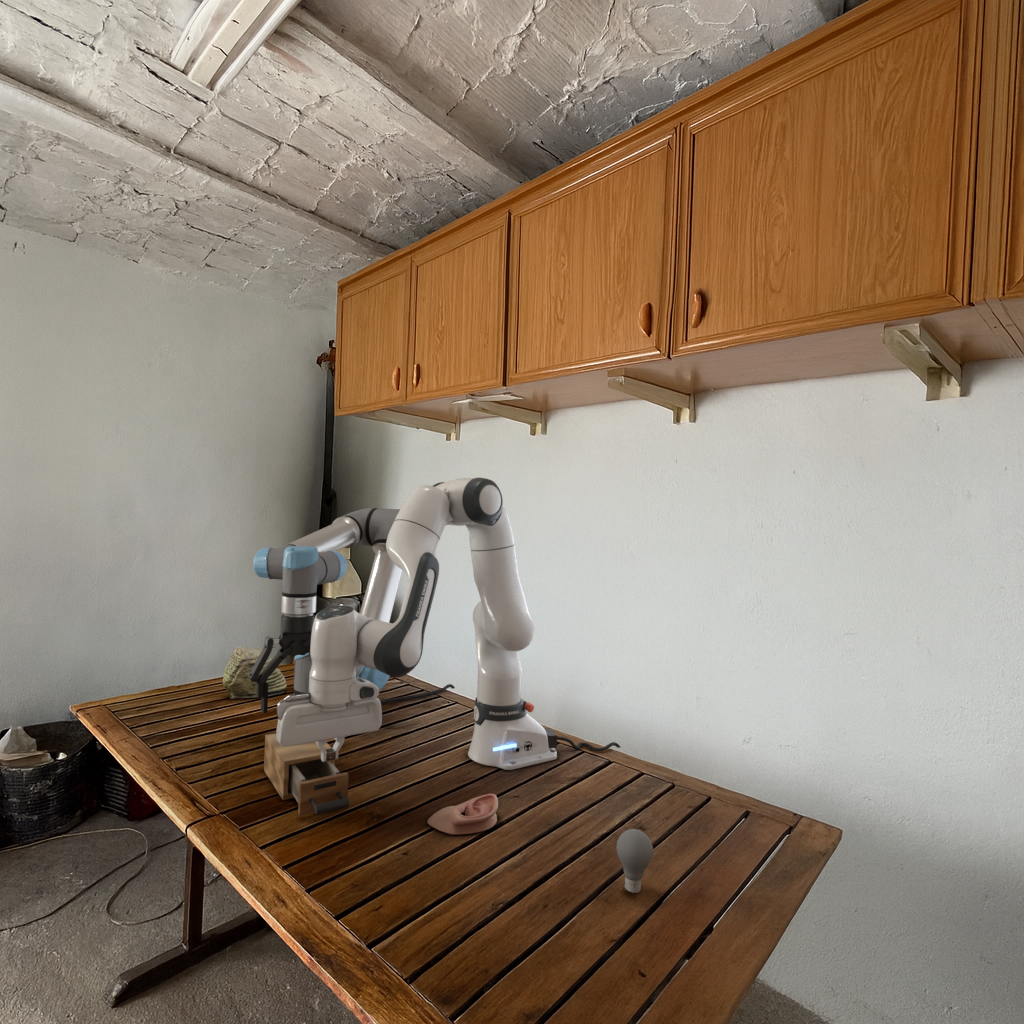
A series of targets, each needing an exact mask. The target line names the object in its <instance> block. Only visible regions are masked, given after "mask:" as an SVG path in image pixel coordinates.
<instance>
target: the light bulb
mask: <svg viewBox="0 0 1024 1024" xmlns="http://www.w3.org/2000/svg"><path fill="white" fill-rule="evenodd" d="M615 849H616V854H617V857H618V859H619V861H620V863H621V865H622V867H623V873H624V874H623V875H624V876H625V878H624V888H625V890H627V891H628V892H630V893H634V894H635V893H639V892H640V891H641V889H642V887H641V886H642V879H643V877H644V875H645V871H646V868H647V867H648V866H649V864H650V863H651V861H652V859H653V855H654V847H653V843H652V841H651V838H649V836H648V835H647V834H646V833H645V832H643V831H642V830H641V829H636V828H629V829H627V830H625V831H623V832H622V833H621V834H620V835H619V837H618V839H617V841H616V847H615Z"/></svg>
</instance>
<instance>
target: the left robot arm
mask: <svg viewBox="0 0 1024 1024" xmlns="http://www.w3.org/2000/svg"><path fill="white" fill-rule="evenodd" d="M400 509H401V508H399V509H398V508H382V507H381V508H380V507H379V508H378V507H366V508H362V509H358V510H355V511H352V512H349V513H346V514H344V515H341V516H339V517H337V518H335V519H334V520H333V521H332V523H331V524H329V525H327V526H325V527H322V528H321V529H317V530H316V531H314V532H311V533H309V534H307V535H305V536H303V537H301V538H298V539H295V540H294V541H292V542H289V543H287V544H284V545H282V546H279V547H276V548H275V547H263V548H260V549H259V550H258V551H256V553H255V555H254V557H253V560H252V561H253V562H252V564H253V571H254V573H255V575H256V576H258V577H259V578H262V579H263V578H264V579H269V580H280V581H282V591H281V606H280V607H281V608H280V610H281V611H280V612H281V614H282V615H281V616H280V632H279V633H280V634H279V637H270V636H266V637H265V639H264V644H263V648H262V649H263V650H262V652H261V653H260V655H259V657H258V659H257V661H256V663H255V665H254V666H253V668H252V670H251V672H250V674H249V676H248V678H249V679H250V680H251V681H252V682H257V696H258V697H257V698H259V699H260V711H261V712H262V713H263V714H268V707H269V706H268V703H269V696H268V683H267V682H266V680H267V679H268V678H269V676H270V675H271V674H272V673H273V672H274V670H275V669H276V668H278V667H279V666H280V665H281V664H282V662H283V661H284V660H285V659H287V657H289V656H290V657H293V658H294V659H293V660H294V672H293V695H299V694H304V693H309V674H310V670H311V667H312V659H311V655H310V645H311V634H312V627H313V623H314V619H315V617H316V615H315V613H316V612H317V592H318V591H317V590H318V586H319V585H323V584H329V583H330V584H332V583H335V582H338V581H340V580H342V579H343V578H344V577H345V576H346V574H347V572H348V561H347V559H346V557H345V556H344V555H343V554H342V553H341V552H339V551H340V550H342V549H351V548H354V547H357V546H367V547H369V546H370V547H372V548H371V549H372V550H373V552H374V553H375V555H374V560H373V563H372V567H371V570H370V573H369V578H368V582H367V585H366V589H365V593H364V597H363V600H362V603H361V607H360V611H359V614H361V615H364V616H366V617H369V618H372V619H376V620H380V621H383V622H388V623H390V621H391V616H392V613H393V610H394V605H395V601H396V597H397V593H398V588H399V586H400V582H401V581H400V580H401V576H402V573H403V570H401V569H400V568H399V567H398V566H396V565H395V564H394V563H393V562H392V560H391V559H390V557H389V555H388V553H387V549H386V541H387V537H388V534H389V531H390V529H391V527H392V525H393V523H394V520H395V518H396V516H397V514H398V512H399V511H400ZM277 645H279V646H280V649H279V650H277V652H276V654H275V656H273V657H272V658H271V659H272V660H271V661H270V663H269V664H268V665H267V666H266V667H265V669H264V670H263V671H262V672H261V670H262V668H263V666H264V665H265V663H266V661H267V659H268V657H269V658H270V655H271V654H272V651H273V649H274V648H276V646H277ZM355 670H356V677H357V678H362V679H366V680H368V681H370V682H372V683H373V684H375V685H376V686H377V687H378V688H379V692H380V691H381V690H382V689H383V688H384V687H385V685H386V684H387V683H388V681H389V679H390V677H391V676H389V675H387V674H385V673H383V672H380V671H379V670H376V669H372V668H369V667H365V666H363V665H359V666H357V667H356V669H355ZM260 672H261V673H260ZM449 688H451V689H452V690H454V689H455V688H456V687H455V686H454V685H453V684H451V683H449V684H446V685H445V686H443V687H441V688H439V689H438V688H437V689H435V690H432V691H428V692H423V693H418V694H412V695H405V696H399V697H391V698H386V699H381V700H380V699H379V700H380V702H381V705H382V704H387V703H393V702H399V701H406V700H411V699H412V700H413V699H419V698H423V697H428V696H431V695H435V694H439V693H442V692H444V691H446V690H447V689H449Z"/></svg>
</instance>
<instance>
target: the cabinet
mask: <svg viewBox="0 0 1024 1024" xmlns="http://www.w3.org/2000/svg"><path fill="white" fill-rule="evenodd" d="M323 746H324V748H325V750H326V749H331V748H332V745H331V746H330V744H329V743H328V742H327V741H326V745H323ZM263 758H264V760H263V761H264V763H263V771H264V773H265V775H266V776H267V778H268V779H269V781H270V782H271V784H272V785H273V787H274V789H275V790H276V792H277V794H278V795H279V796H280V798H281V800H282V801H287V800H291V799H295V798H294V796H293V795H292V793H291V792H290V790H289V789H288V780H289V765H292V764H297V763H302V762H307V761H312V760H317V759H321V751H320V749H319V747H318V746H317V744H316V742H311V743H305V744H300V745H294V746H288V747H283V746H282V745H281V744H279V742H278V741H277V739H276V732H275V733H269V734H265V735H264V757H263ZM330 761H331V762H332V764H333V765H334V766H335V767H336V760H330Z"/></svg>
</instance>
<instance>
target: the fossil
mask: <svg viewBox="0 0 1024 1024" xmlns="http://www.w3.org/2000/svg"><path fill="white" fill-rule="evenodd" d="M262 650H263V648H260V647H258V648H251V647H247V646H246V647H245V646H238V647H237V648H236V649H235V650H233V651H232V653H231V656H230V657H229V659H228V660H227V663H226V666H225V668H224V671H223V675H222V676H223V677H222V685H223V687H224V688H225V690H226V691H228V693H229V698H230V699H250V698H259V697H258V696H257V682H252V681H251V680H250V679H249V678H248V676H249V674H250V672H251V670H252V668H253V666H254V665H255V663H256V661H257V659H258V657H259V655H260V653H261V652H262ZM272 659H273V658H271V657H270V656H269V657H268V659H267V661H266V663H265V665H264V666H263V668H262V670H261V672H262V671H263V670H264V669H265V667H266V666H267V665H268V664H269V663H270V661H271V660H272ZM261 672H260V673H261ZM266 682H267V683H268V697H271V696H275V695H281V694H284V693H285V691H286V689H287V687H288V686H287V680H286V678H285V676H284V674H283V673H282V672H281V669H279V668H278V667H277V668H276V669H275V670H274V672H273V673H272V674H271V675H270V676H269V678H268V679H267V680H266Z"/></svg>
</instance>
